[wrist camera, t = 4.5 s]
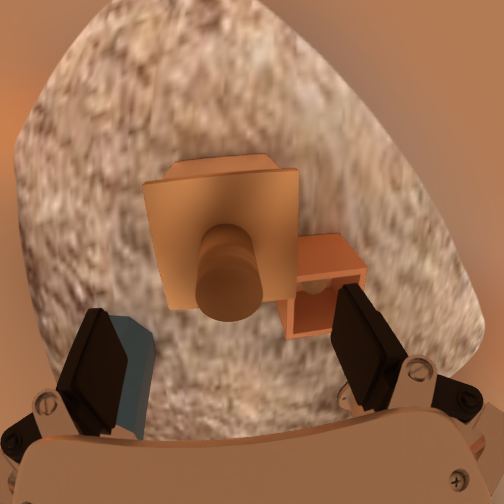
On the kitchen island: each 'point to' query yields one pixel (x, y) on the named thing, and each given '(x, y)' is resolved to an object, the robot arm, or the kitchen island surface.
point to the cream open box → (220, 165)
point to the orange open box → (315, 268)
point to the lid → (226, 239)
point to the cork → (314, 286)
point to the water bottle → (134, 378)
